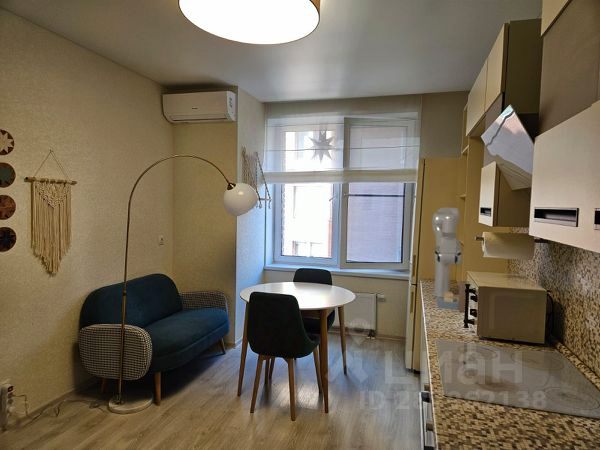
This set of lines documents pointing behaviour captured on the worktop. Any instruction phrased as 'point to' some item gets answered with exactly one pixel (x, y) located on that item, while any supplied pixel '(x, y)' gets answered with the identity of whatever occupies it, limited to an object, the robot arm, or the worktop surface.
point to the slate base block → (448, 304)
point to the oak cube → (448, 297)
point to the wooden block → (462, 296)
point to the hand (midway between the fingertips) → (447, 262)
